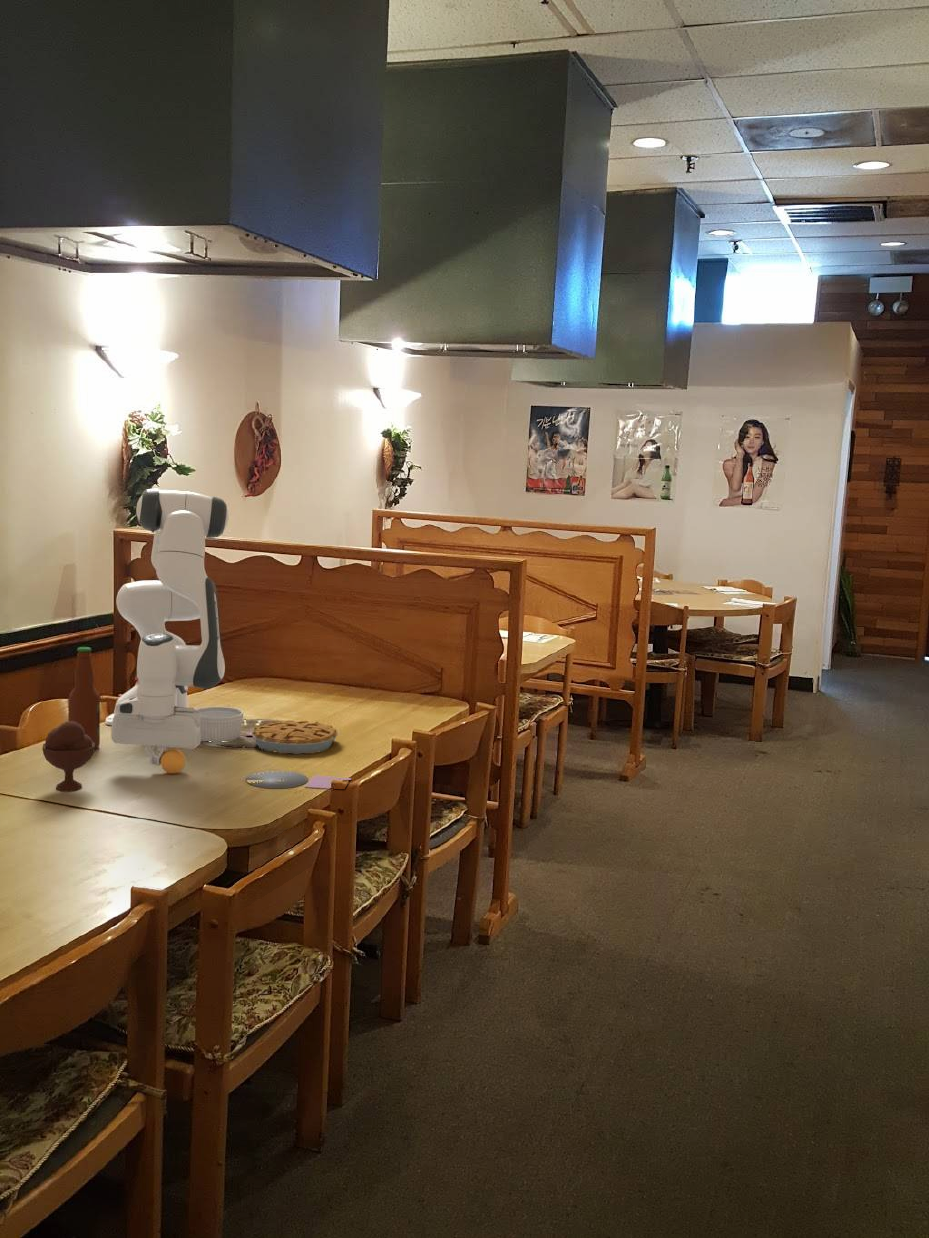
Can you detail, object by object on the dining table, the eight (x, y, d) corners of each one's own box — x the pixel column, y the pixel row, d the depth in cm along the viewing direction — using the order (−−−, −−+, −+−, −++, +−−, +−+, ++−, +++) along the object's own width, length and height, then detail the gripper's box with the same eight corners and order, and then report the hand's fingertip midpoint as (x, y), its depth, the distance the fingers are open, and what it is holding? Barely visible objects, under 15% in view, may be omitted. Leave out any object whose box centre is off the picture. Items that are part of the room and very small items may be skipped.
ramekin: (217, 747, 280) (217, 720, 279) (179, 738, 286) (180, 712, 286) (253, 737, 291) (253, 711, 290) (216, 729, 298) (217, 704, 297)
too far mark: (305, 787, 249) (305, 786, 249) (313, 776, 258) (313, 775, 258) (344, 790, 248) (344, 789, 248) (351, 779, 257) (351, 778, 257)
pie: (321, 760, 273) (321, 740, 272) (237, 751, 277) (238, 732, 276) (347, 739, 294) (348, 721, 293) (270, 732, 298) (270, 713, 297)
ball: (156, 774, 252) (158, 751, 251) (163, 767, 258) (165, 744, 257) (180, 777, 252) (182, 754, 251) (187, 771, 258) (189, 747, 257)
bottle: (106, 746, 274) (106, 647, 271) (84, 753, 268) (84, 651, 264) (83, 742, 277) (83, 644, 274) (61, 748, 271) (61, 648, 267)
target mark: (238, 786, 247) (238, 785, 247) (254, 769, 261) (254, 768, 261) (300, 790, 246) (300, 789, 246) (313, 773, 260) (313, 772, 260)
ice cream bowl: (105, 784, 244) (105, 717, 242) (72, 797, 233) (72, 728, 231) (65, 777, 247) (65, 712, 245) (31, 790, 237) (30, 722, 235)
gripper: (205, 705, 255) (204, 763, 257) (119, 699, 257) (119, 757, 258) (196, 711, 249) (195, 771, 250) (108, 705, 250) (108, 764, 252)
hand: (155, 764), depth 254 cm, fingers closed
